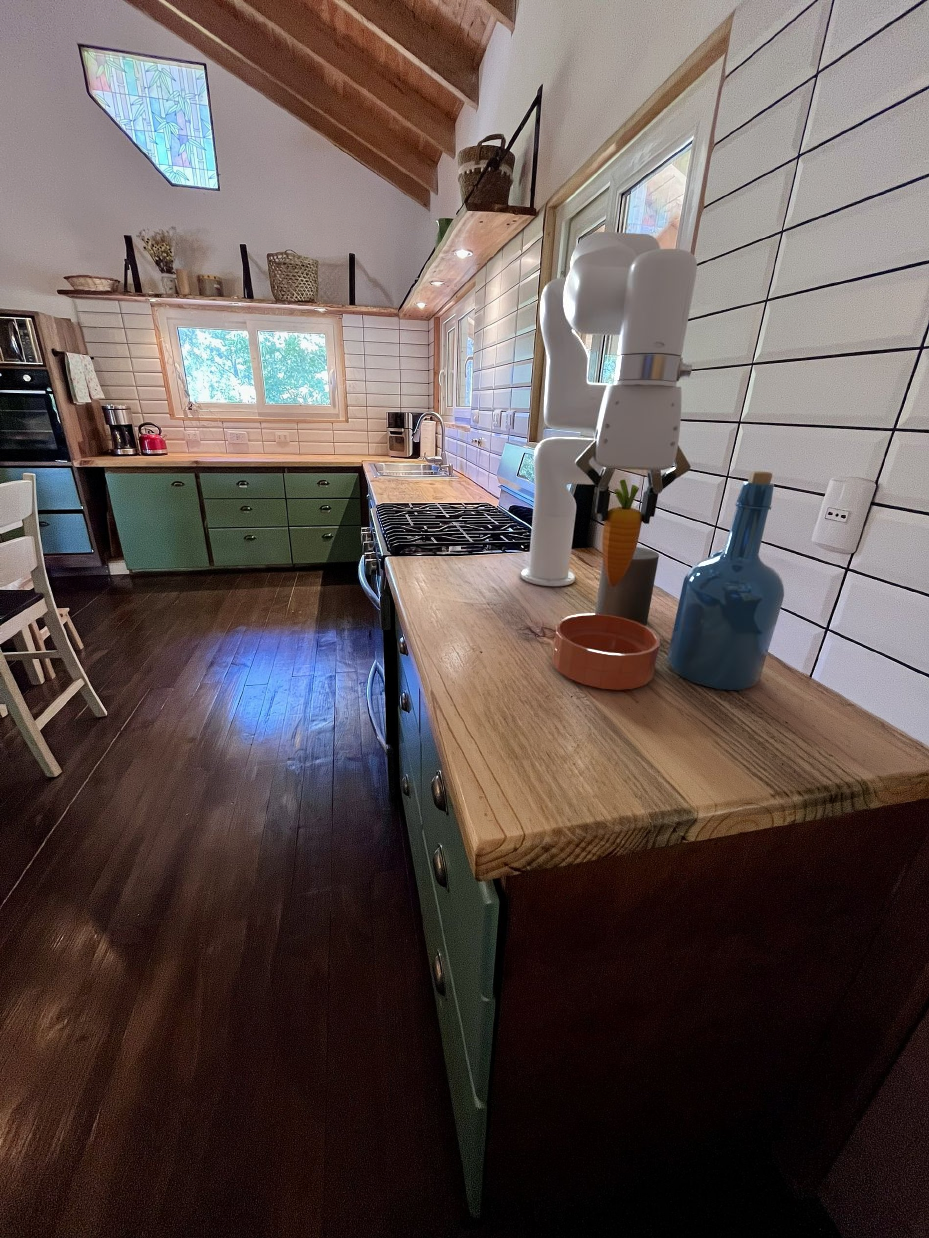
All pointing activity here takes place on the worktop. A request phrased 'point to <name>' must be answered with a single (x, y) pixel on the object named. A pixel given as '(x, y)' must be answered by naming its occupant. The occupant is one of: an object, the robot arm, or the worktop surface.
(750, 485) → the wine bottle
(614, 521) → the carrot
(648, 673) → the bowl
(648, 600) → the pillar candle
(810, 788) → the worktop surface
